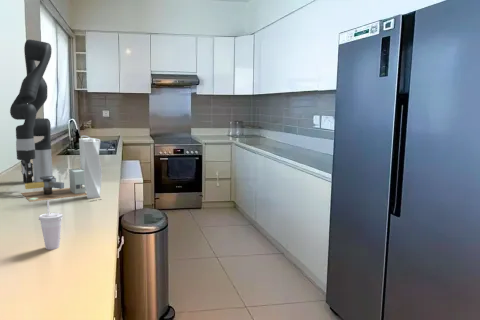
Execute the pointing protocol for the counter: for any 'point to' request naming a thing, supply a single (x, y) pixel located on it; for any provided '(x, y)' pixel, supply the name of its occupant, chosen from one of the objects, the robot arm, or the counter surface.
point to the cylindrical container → (82, 153)
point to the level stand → (77, 181)
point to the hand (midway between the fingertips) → (27, 184)
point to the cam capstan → (45, 184)
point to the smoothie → (51, 228)
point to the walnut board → (55, 194)
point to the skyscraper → (92, 167)
